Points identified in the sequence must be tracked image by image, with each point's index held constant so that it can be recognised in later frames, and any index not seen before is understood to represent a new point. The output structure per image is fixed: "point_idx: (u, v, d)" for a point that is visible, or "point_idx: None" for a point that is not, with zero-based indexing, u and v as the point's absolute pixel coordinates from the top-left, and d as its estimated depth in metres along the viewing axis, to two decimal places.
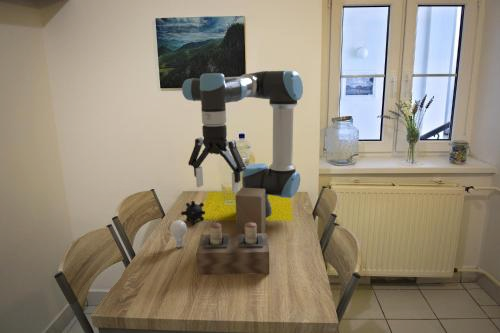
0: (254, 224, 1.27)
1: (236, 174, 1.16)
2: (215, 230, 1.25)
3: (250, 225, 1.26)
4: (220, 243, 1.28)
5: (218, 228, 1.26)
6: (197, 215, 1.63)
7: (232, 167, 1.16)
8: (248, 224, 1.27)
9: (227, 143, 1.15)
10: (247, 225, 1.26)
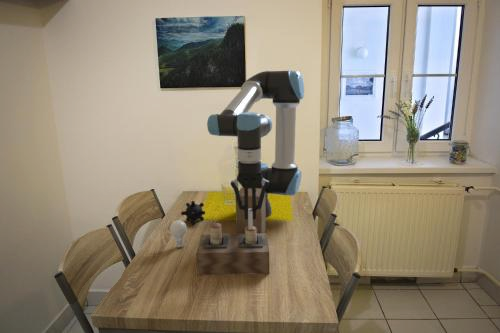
0: (254, 228, 1.27)
1: (254, 212, 1.25)
2: (215, 230, 1.25)
3: (250, 229, 1.27)
4: (220, 243, 1.28)
5: (218, 228, 1.26)
6: (197, 215, 1.63)
7: (253, 205, 1.24)
8: None
9: (263, 180, 1.23)
10: (247, 229, 1.27)
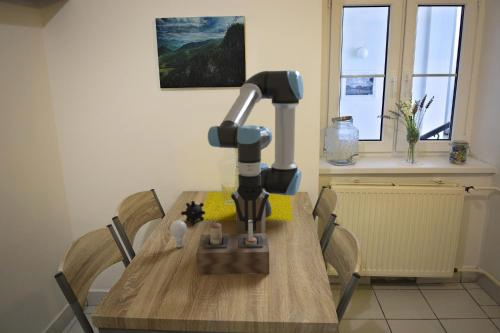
0: (254, 239, 1.28)
1: None
2: (215, 230, 1.25)
3: None
4: (220, 243, 1.28)
5: (218, 228, 1.26)
6: (197, 215, 1.63)
7: (254, 216, 1.25)
8: (248, 239, 1.29)
9: (263, 193, 1.24)
10: (247, 240, 1.28)
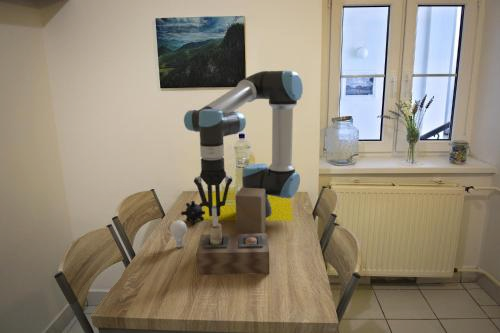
0: (254, 239, 1.28)
1: None
2: (215, 230, 1.25)
3: (250, 240, 1.28)
4: (220, 243, 1.28)
5: (218, 228, 1.26)
6: (197, 215, 1.63)
7: (217, 201, 1.23)
8: (248, 239, 1.29)
9: (226, 177, 1.22)
10: (247, 240, 1.28)
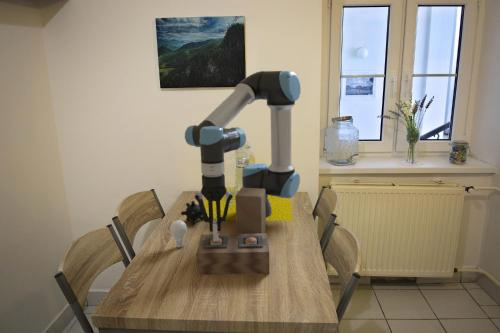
0: (254, 239, 1.28)
1: (218, 224, 1.26)
2: None
3: (250, 240, 1.28)
4: None
5: (219, 243, 1.27)
6: (197, 215, 1.63)
7: (218, 217, 1.25)
8: (248, 239, 1.29)
9: (227, 193, 1.24)
10: (247, 240, 1.28)
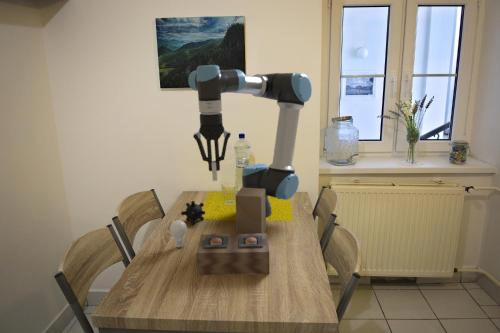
0: (254, 239, 1.28)
1: (217, 163, 1.29)
2: None
3: (250, 240, 1.28)
4: None
5: (219, 243, 1.27)
6: (197, 215, 1.63)
7: (216, 156, 1.28)
8: (248, 239, 1.29)
9: (225, 132, 1.27)
10: (247, 240, 1.28)
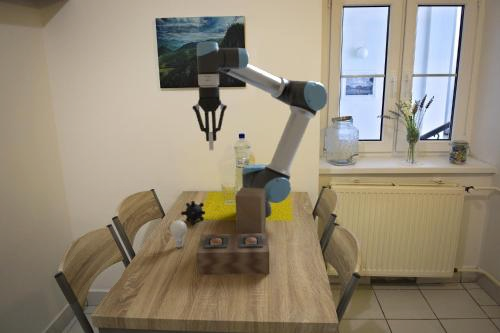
0: (254, 239, 1.28)
1: (214, 134, 1.40)
2: None
3: (250, 240, 1.28)
4: None
5: (219, 243, 1.27)
6: (197, 215, 1.63)
7: (213, 127, 1.39)
8: (248, 239, 1.29)
9: (221, 104, 1.37)
10: (247, 240, 1.28)
